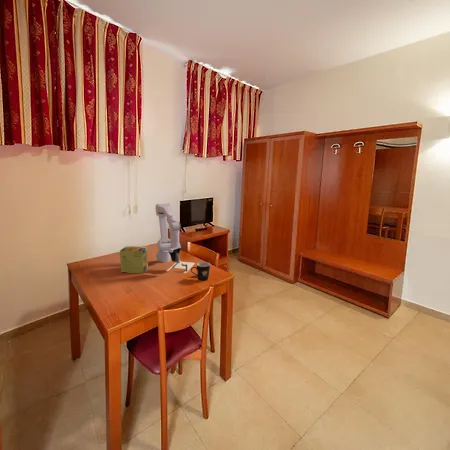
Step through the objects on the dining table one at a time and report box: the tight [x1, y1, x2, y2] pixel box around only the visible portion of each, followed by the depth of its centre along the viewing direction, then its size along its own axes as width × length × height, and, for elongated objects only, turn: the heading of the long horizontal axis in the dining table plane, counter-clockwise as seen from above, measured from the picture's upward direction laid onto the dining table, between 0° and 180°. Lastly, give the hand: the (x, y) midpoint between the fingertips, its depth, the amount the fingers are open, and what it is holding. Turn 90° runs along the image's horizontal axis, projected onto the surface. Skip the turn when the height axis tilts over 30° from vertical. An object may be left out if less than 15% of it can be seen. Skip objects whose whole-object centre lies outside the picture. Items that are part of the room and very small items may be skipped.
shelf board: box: [166, 261, 196, 274], centre depth 179 cm, size 14×20×2 cm
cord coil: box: [172, 253, 180, 263], centre depth 171 cm, size 5×5×5 cm
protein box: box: [119, 245, 149, 274], centre depth 174 cm, size 10×15×16 cm
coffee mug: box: [190, 261, 211, 282], centre depth 163 cm, size 12×9×10 cm
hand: (175, 259), depth 172 cm, fingers closed on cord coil, 5 cm apart
